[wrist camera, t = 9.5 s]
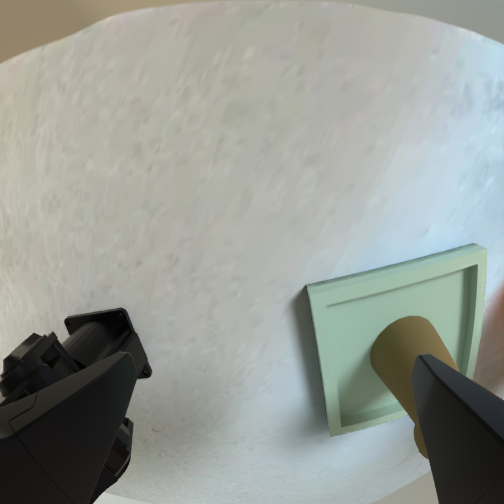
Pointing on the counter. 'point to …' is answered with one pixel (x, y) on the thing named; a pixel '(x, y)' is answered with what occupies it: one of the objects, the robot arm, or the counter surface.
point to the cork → (406, 361)
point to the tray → (384, 313)
